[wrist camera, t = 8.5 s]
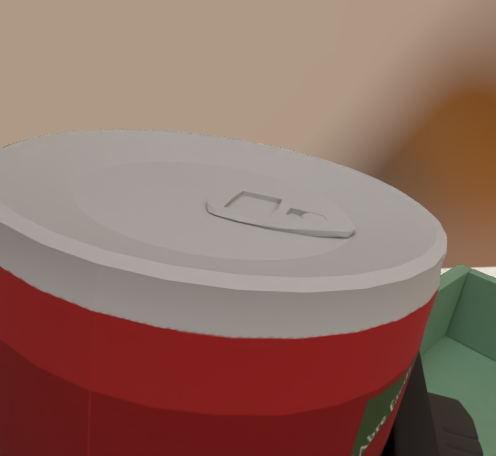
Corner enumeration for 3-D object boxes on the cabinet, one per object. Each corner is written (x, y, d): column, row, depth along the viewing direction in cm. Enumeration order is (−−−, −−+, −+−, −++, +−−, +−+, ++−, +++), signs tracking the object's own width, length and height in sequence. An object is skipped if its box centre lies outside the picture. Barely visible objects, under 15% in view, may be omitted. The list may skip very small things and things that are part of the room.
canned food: (337, 810, 9) (568, 334, 5) (-84, 765, 9) (-212, 221, 5) (303, 469, 16) (385, 160, 12) (71, 439, 16) (74, 112, 12)
